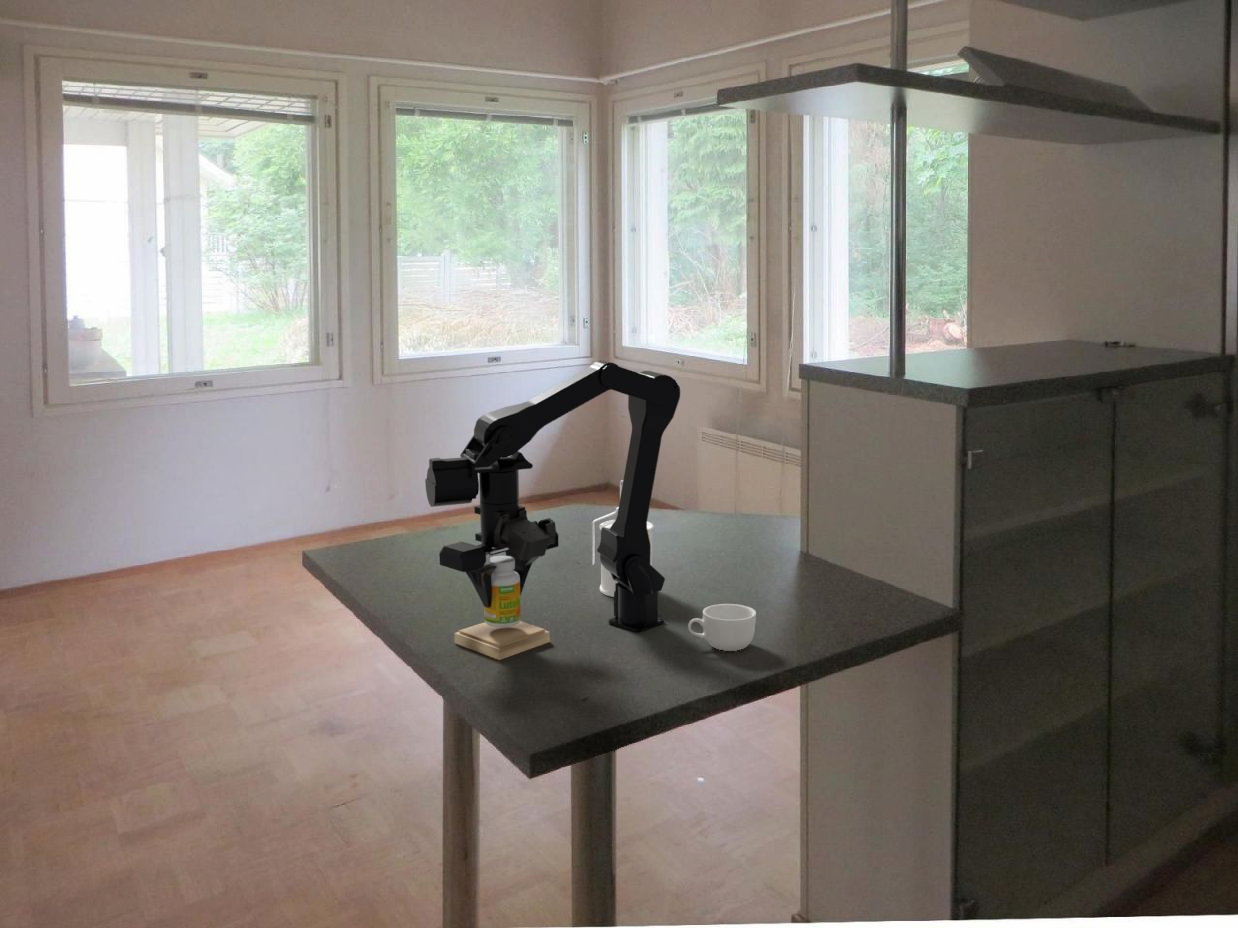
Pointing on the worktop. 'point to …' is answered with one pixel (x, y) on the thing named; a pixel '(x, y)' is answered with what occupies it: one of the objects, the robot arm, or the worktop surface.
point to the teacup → (727, 626)
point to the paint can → (606, 578)
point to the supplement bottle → (504, 594)
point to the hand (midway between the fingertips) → (502, 602)
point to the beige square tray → (502, 639)
